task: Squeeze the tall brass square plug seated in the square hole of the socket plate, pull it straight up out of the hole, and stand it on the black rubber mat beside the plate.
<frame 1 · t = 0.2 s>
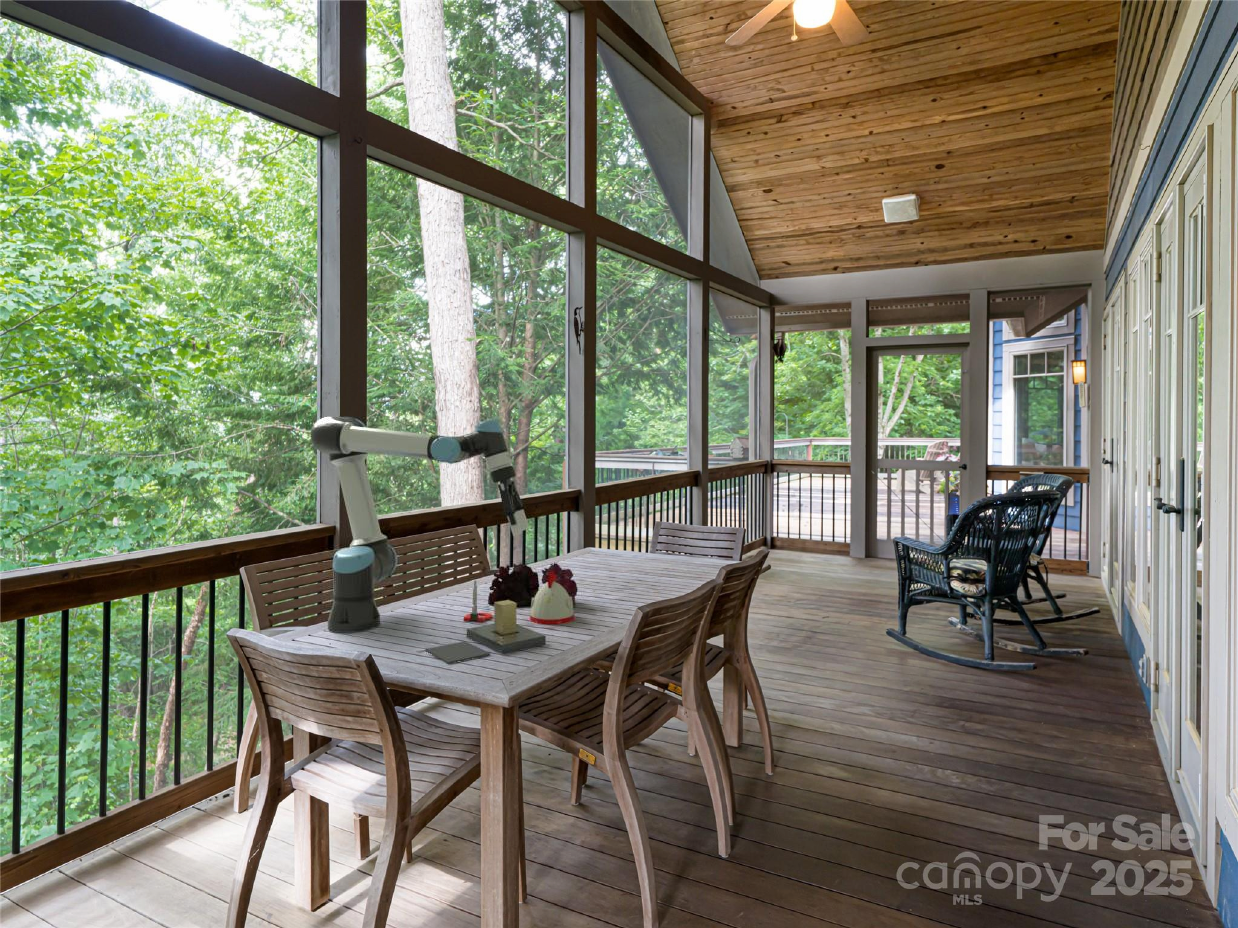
hand: (521, 532, 227), 28 cm above the table, tool tilted 20°, fingers open, 13 cm apart
kitchen timer: (552, 619, 230), on the table
tow hook: (478, 619, 230), on the table
brass plug: (505, 621, 205), in the socket plate
flower arrangement: (535, 604, 250), on the table
socket plate: (505, 640, 205), on the table
rubber mat: (457, 653, 194), on the table
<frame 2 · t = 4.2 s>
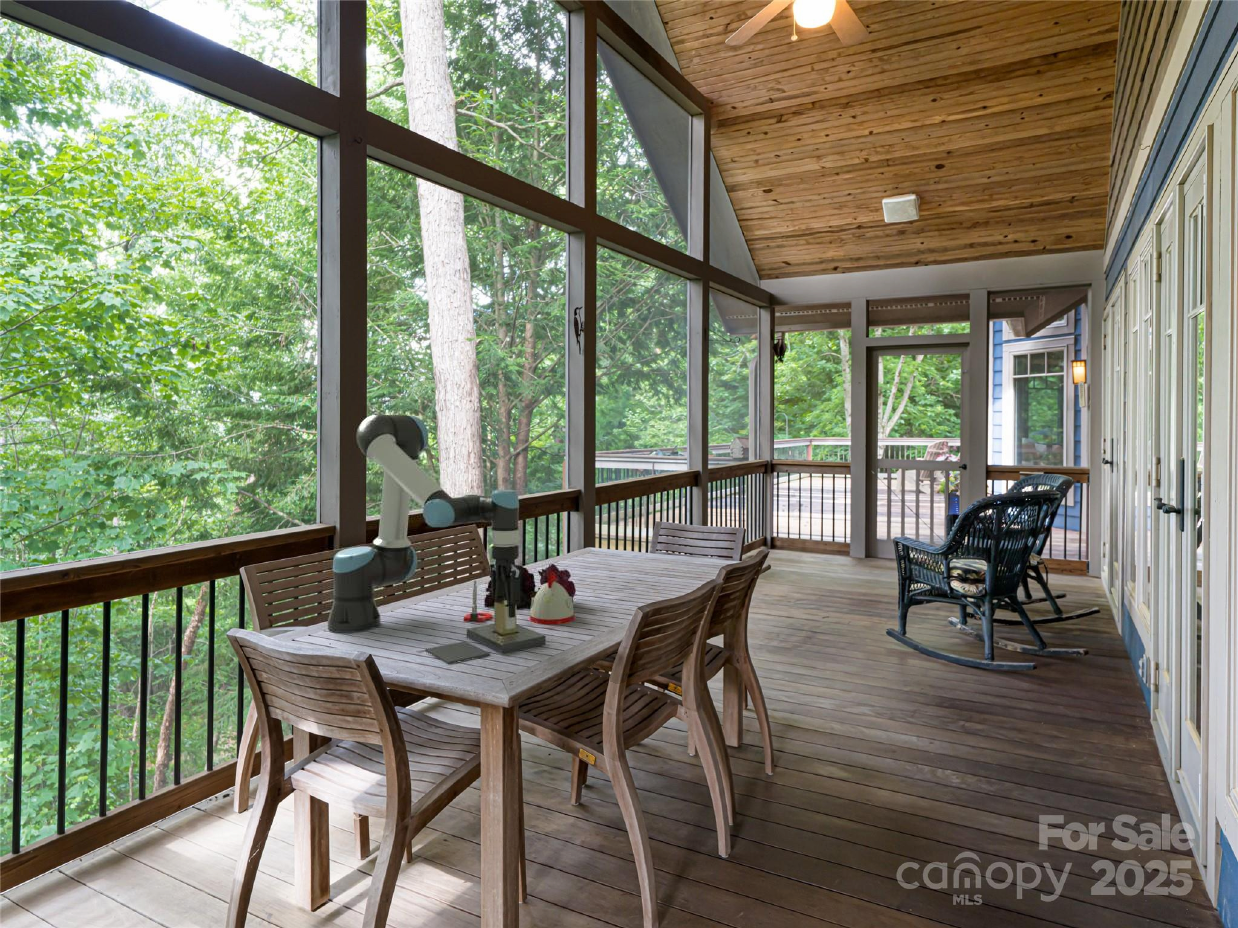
hand: (505, 626, 205), 4 cm above the table, tool pointing down, fingers closed on brass plug, 4 cm apart
brass plug: (505, 621, 205), in the socket plate, touching gripper
flower arrangement: (532, 606, 248), on the table
everything else where it was.
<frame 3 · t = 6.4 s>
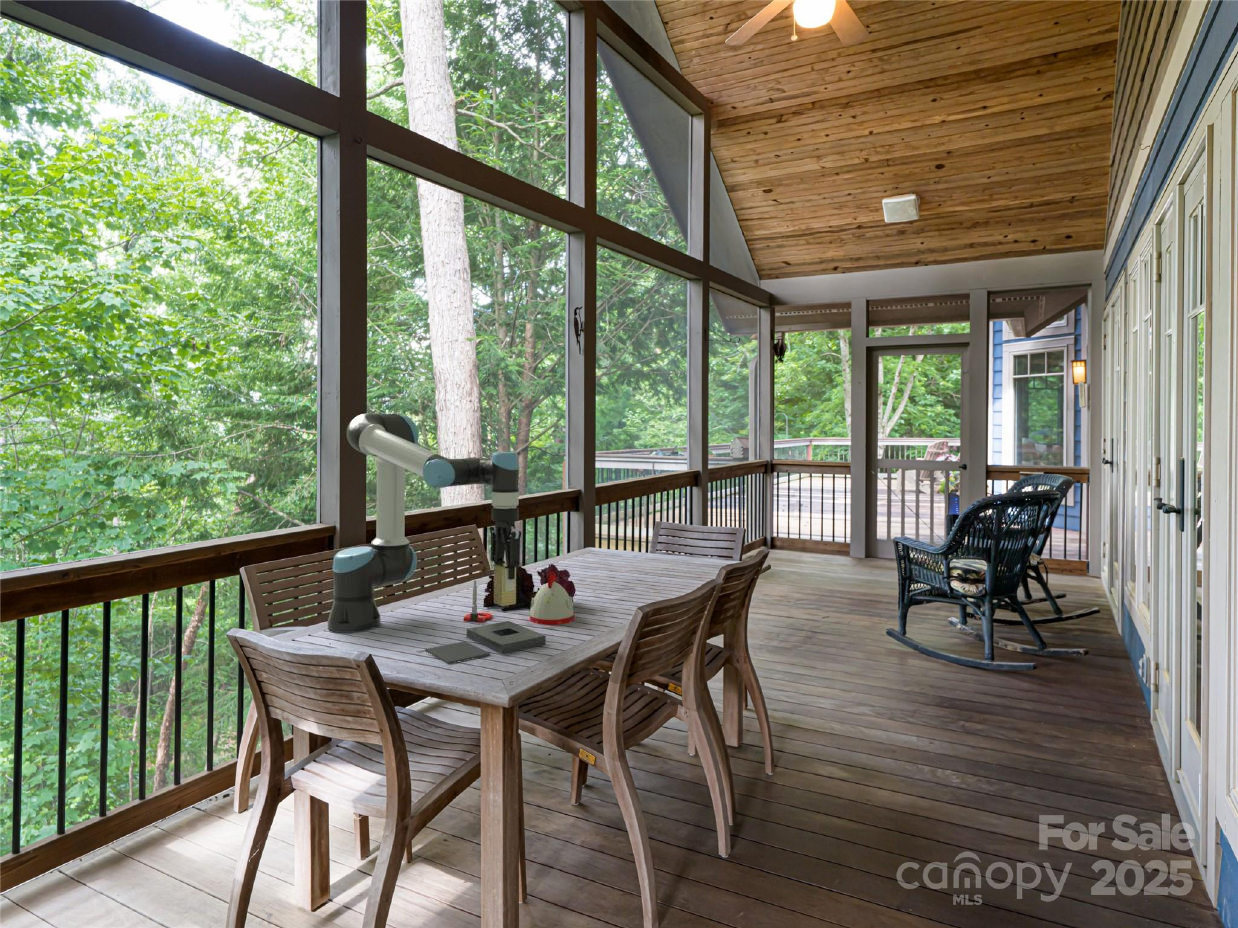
hand: (504, 588, 205), 15 cm above the table, tool pointing down, fingers closed on brass plug, 4 cm apart
brass plug: (504, 584, 205), point 16 cm above the table, touching gripper
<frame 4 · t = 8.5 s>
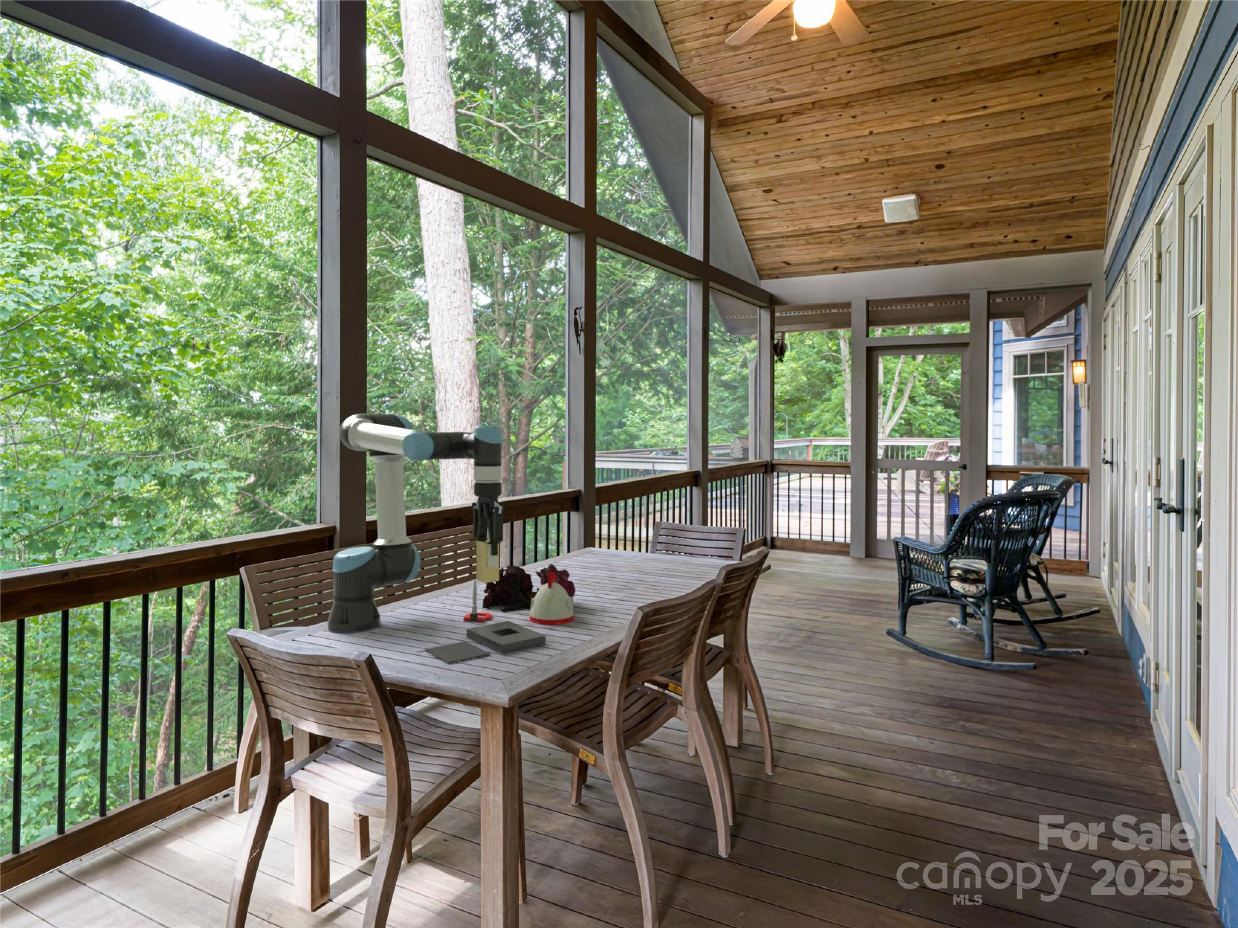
hand: (487, 565, 200), 22 cm above the table, tool pointing down, fingers closed on brass plug, 4 cm apart
brass plug: (487, 560, 200), point 24 cm above the table, touching gripper
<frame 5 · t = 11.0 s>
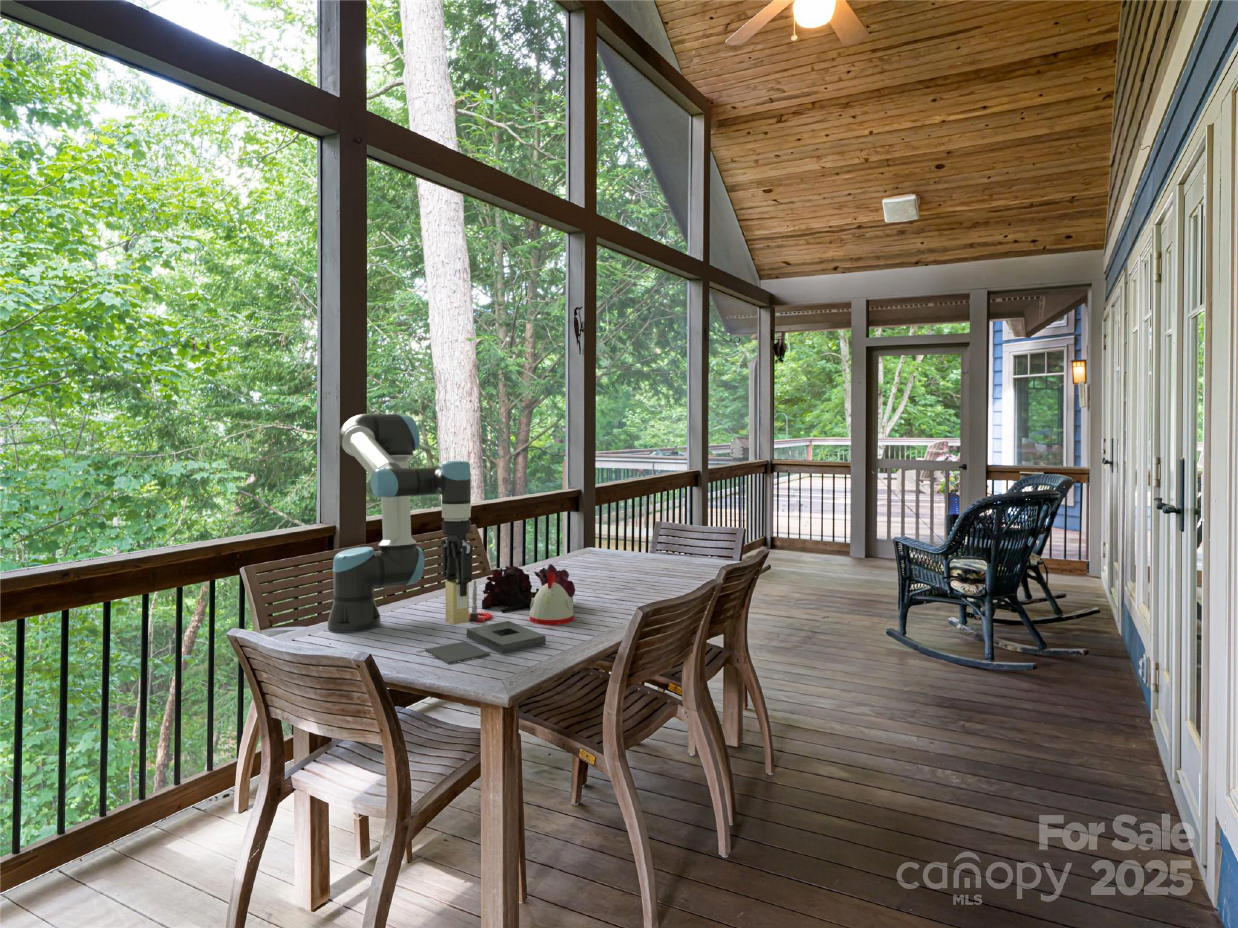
hand: (457, 605, 193), 13 cm above the table, tool pointing down, fingers closed on brass plug, 4 cm apart
brass plug: (457, 601, 193), point 14 cm above the table, touching gripper
when the fingers open (6 cm above the table, at t = 13.0 s): brass plug drops 1 cm, resting on rubber mat.
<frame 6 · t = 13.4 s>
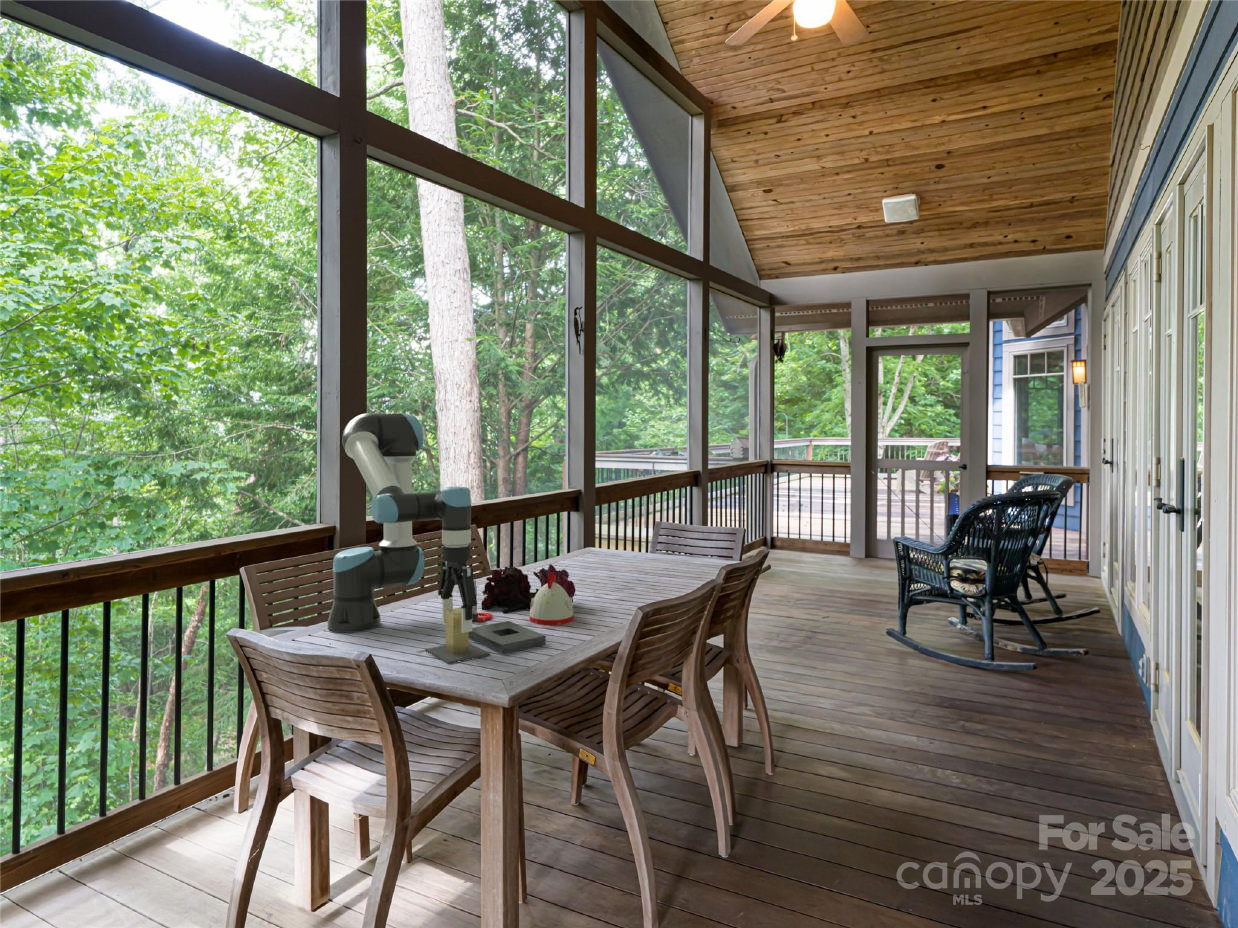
hand: (457, 627, 193), 7 cm above the table, tool pointing down, fingers open, 10 cm apart
brass plug: (457, 630, 193), on the rubber mat, point 6 cm above the table
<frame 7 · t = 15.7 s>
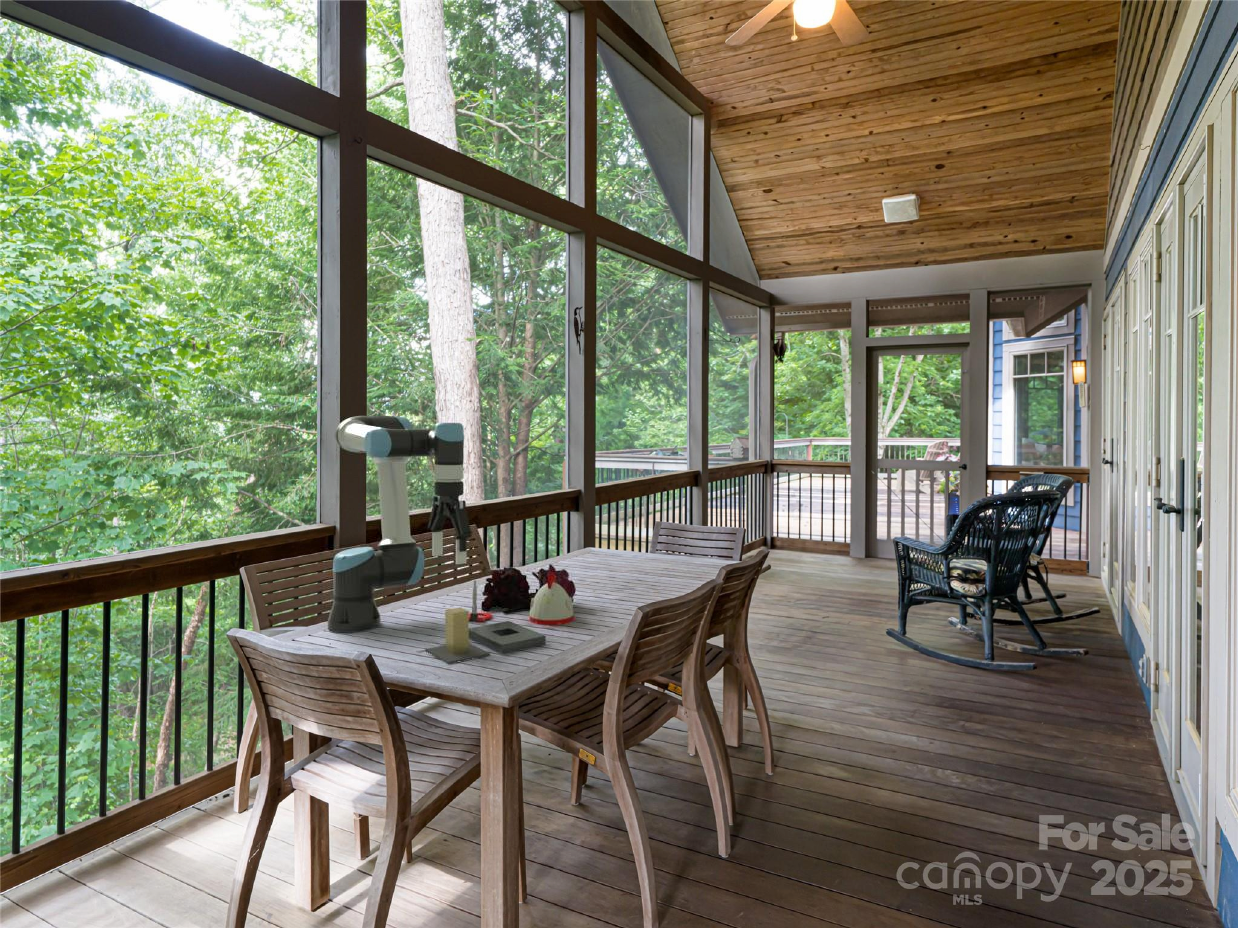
hand: (449, 559, 194), 25 cm above the table, tool pointing down, fingers open, 13 cm apart
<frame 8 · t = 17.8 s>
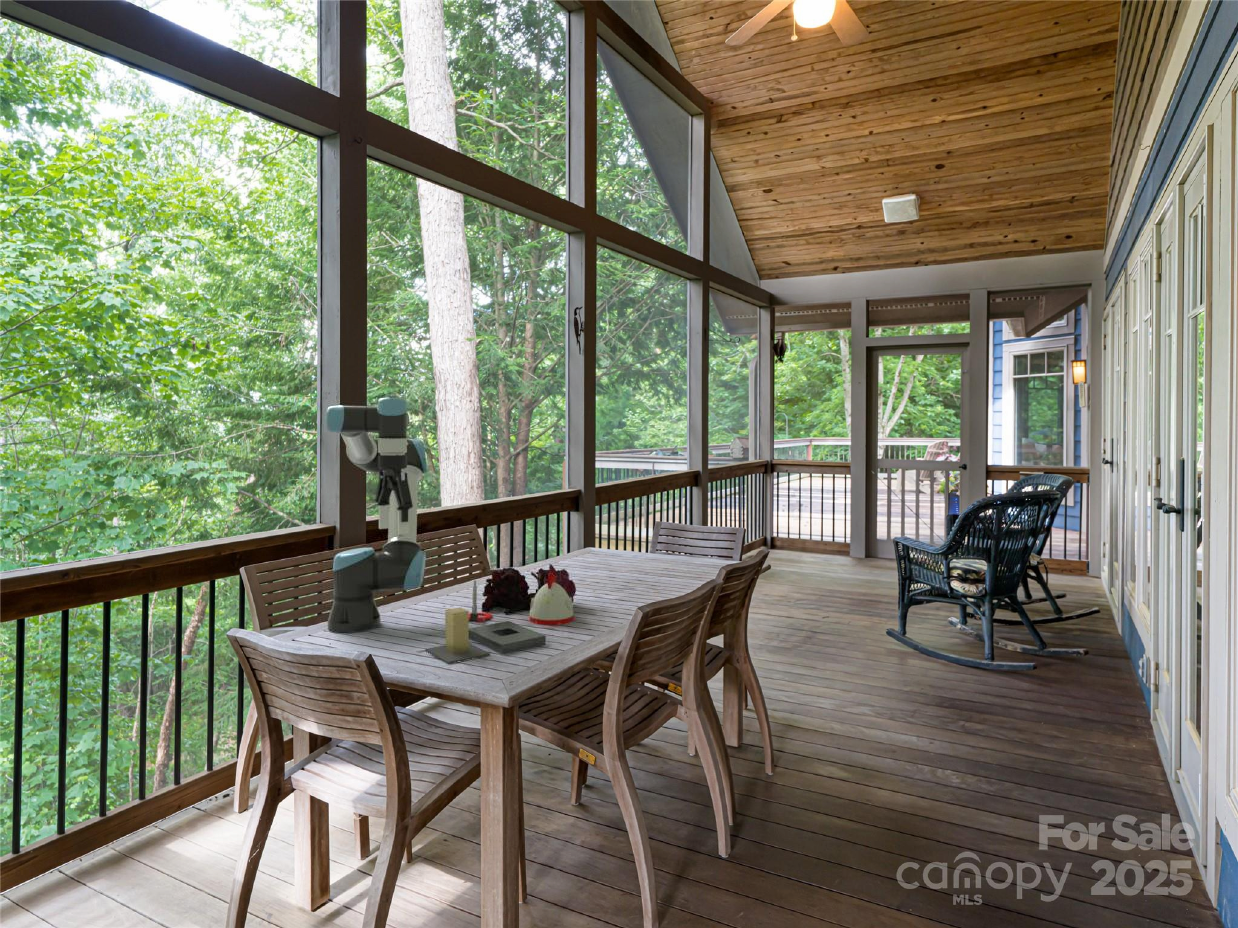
hand: (393, 531, 200), 32 cm above the table, tool pointing down, fingers open, 13 cm apart
at the end: brass plug inside the target area (0.0 cm from its centre), point 6.1 cm above the table; brass plug tilted 0°; brass plug touching rubber mat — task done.
